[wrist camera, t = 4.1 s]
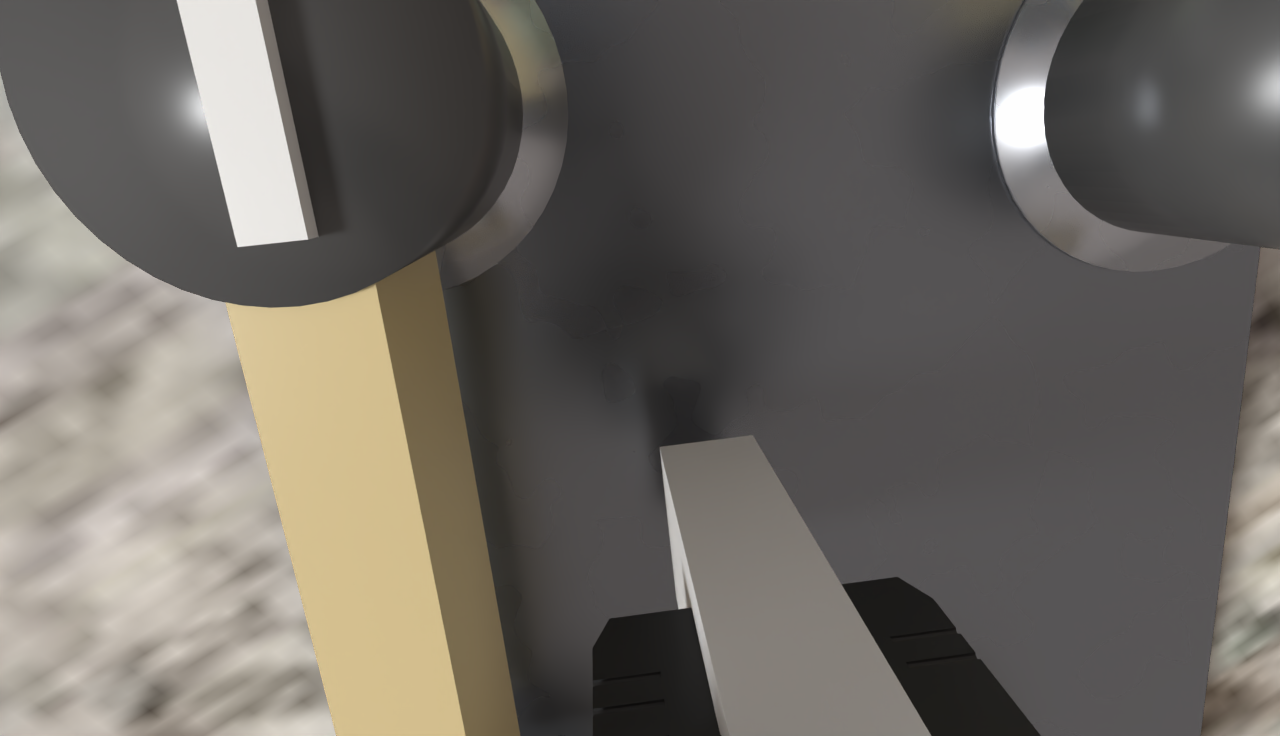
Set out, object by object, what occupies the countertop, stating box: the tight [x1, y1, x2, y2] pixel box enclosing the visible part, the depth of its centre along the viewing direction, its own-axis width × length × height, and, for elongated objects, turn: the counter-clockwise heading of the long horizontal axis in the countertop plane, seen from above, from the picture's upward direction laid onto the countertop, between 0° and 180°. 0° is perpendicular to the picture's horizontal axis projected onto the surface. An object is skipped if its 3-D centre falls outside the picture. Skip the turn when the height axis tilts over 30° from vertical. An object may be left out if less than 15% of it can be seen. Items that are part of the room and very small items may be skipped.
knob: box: [0, 0, 523, 736], centre depth 11 cm, size 14×5×5 cm, turn 6°
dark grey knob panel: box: [435, 0, 1260, 736], centre depth 15 cm, size 28×19×2 cm
